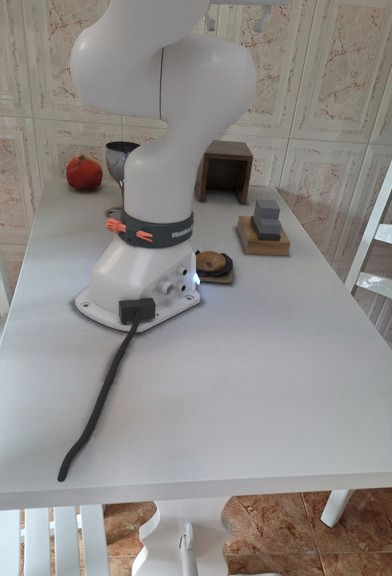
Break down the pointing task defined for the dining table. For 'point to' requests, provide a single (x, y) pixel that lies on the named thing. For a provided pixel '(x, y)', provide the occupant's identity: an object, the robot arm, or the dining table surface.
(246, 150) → the open box
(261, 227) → the grey notched block
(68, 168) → the red pomegranate
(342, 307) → the dining table surface
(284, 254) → the brown wooden block
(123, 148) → the wine glass
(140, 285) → the robot arm
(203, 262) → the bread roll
